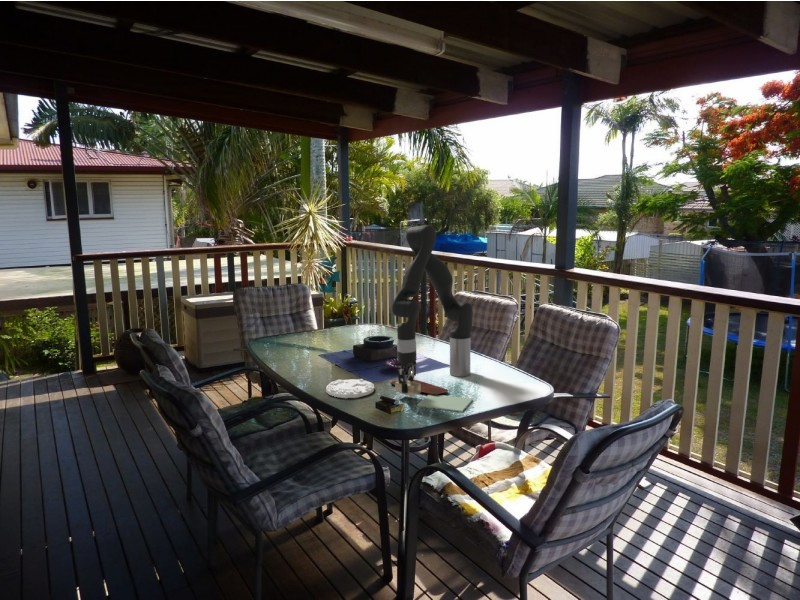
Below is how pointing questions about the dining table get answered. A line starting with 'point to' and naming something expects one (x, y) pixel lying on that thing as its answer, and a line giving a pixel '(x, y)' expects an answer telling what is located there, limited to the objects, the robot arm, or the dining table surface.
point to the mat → (445, 402)
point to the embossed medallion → (350, 388)
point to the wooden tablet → (428, 387)
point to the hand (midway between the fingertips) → (407, 390)
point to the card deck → (409, 388)
